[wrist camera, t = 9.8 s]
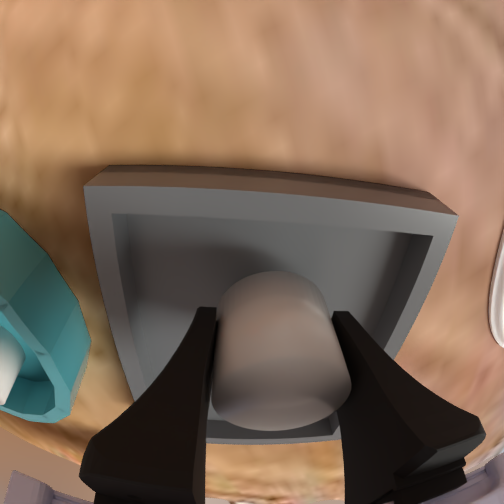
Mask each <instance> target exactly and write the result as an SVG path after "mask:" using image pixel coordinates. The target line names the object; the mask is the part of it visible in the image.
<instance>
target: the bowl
mask: <svg viewBox="0 0 504 504" xmlns="http://www.w3.org/2000/svg"><path fill="white" fill-rule="evenodd" d="M0 325H1V326H2V327H3V328H5V329H6V330H7V331H8V332H10V333H11V334H12V335H13V336H14V337H15V338H16V340H17V341H18V342H19V343H20V345H21V346H22V348H23V350H24V352H25V356H26V359H25V361H24V363H23V365H22V367H21V369H20V372H19V374H18V376H17V378H16V380H15V382H14V384H13V386H12V388H11V391H10V393H9V395H8V397H7V400H6V402H5V404H4V405H0V410H2V411H4V412H7V413H9V414H12V415H14V416H17V417H20V418H22V419H25V420H28V421H33V422H44V423H56V422H57V421H59V420H61V419H63V418H65V417H67V416H69V415H70V413H71V410H72V407H73V404H74V401H75V398H76V395H77V393H78V390H79V387H80V384H81V381H82V379H83V376H84V373H85V371H86V368H87V362H88V356H89V350H90V345H91V339H90V336H89V333H88V330H87V327H86V324H85V321H84V318H83V315H82V312H81V309H80V305H79V302H78V300H77V298H76V297H75V296H74V294H73V293H72V291H71V290H70V288H69V287H68V285H67V284H66V282H65V281H64V279H63V278H62V276H61V275H60V273H59V272H58V270H57V268H56V267H55V265H54V264H53V262H52V260H51V259H50V257H49V256H48V254H47V253H46V252H45V251H44V250H43V249H42V248H41V247H40V246H39V245H38V244H37V243H36V242H35V241H34V240H33V239H32V238H31V237H30V236H29V235H28V234H27V233H26V232H25V231H24V230H23V229H22V228H21V227H20V226H19V225H18V224H17V223H16V222H15V221H14V220H13V219H12V218H11V217H10V216H9V215H8V213H6V212H4V211H2V210H1V209H0Z"/></svg>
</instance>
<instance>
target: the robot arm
mask: <svg viewBox="0 0 504 504" xmlns="http://www.w3.org/2000/svg"><path fill="white" fill-rule="evenodd" d="M216 314H217V307H202V306H200V307H199V308H197V311H196V314H195V316H194V318H193V321H192V323H191V325H190V327H189V329H188V331H187V333H186V334H185V336H184V338H183V340H182V341H181V343H180V345H179V347H178V348H177V350H176V351H175V353H174V354H173V356H172V357H171V359H170V360H169V362H168V363H167V365H166V366H165V367H164V369H163V370H162V371H161V373H160V374H159V375H158V377H157V378H156V379H155V380H154V381H153V383H152V384H151V385H150V386H149V387H148V388H147V389H146V391H145V392H144V393H143V394H142V395H141V396H140V397H139V398H138V399H137V400H136V401H135V402H134V403H133V404H132V405H131V406H130V407H129V408H128V409H127V410H125V411H124V412H123V413H122V414H121V415H120V416H119V417H118V418H117V419H115V420H114V421H113V422H112V423H110V424H109V425H108V426H106V427H105V428H104V429H103V430H101V431H100V432H99V433H97V434H96V435H94V436H93V437H92V438H91V440H90V442H89V444H88V446H87V448H86V451H85V453H84V455H83V459H82V463H81V468H80V473H79V477H80V479H81V480H82V481H83V482H84V483H85V484H86V485H88V487H90V488H91V489H92V490H93V491H95V492H96V493H95V499H94V503H93V502H89V501H86V500H82V499H79V498H76V497H73V496H69V495H67V494H63V493H61V492H58V491H55V490H53V489H52V488H51V487H50V486H48V485H47V484H45V483H43V482H41V481H39V480H37V479H34V478H32V477H29V476H27V475H25V474H22V473H20V472H18V471H16V470H13V471H12V474H11V478H10V481H9V485H8V489H7V493H6V497H5V501H4V504H205V462H206V430H207V418H208V411H209V404H210V397H211V390H212V374H213V357H214V345H215V334H216ZM331 320H332V323H333V326H334V329H335V332H336V335H337V338H338V341H339V344H340V347H341V350H342V353H343V357H344V360H345V363H346V366H347V369H348V373H349V376H350V379H351V392H350V394H349V396H348V398H347V399H346V401H345V402H344V403H343V404H342V406H341V407H339V408H338V409H337V410H336V412H337V416H338V420H339V426H340V433H341V440H342V449H343V460H344V477H345V504H504V452H503V453H501V454H500V455H498V456H496V457H495V458H493V459H492V460H490V461H489V462H488V463H487V464H486V465H485V466H483V467H481V468H479V469H477V470H475V471H472V472H470V473H468V474H466V475H465V474H464V471H463V468H462V467H464V466H465V465H466V462H465V459H464V457H465V456H466V455H468V454H469V453H470V452H471V451H473V450H474V449H475V448H476V447H477V446H478V445H480V444H481V443H482V441H483V440H484V439H485V436H486V433H485V431H484V428H483V426H482V424H481V422H480V420H479V418H478V417H477V416H475V415H473V414H471V413H469V412H467V411H464V410H462V409H460V408H458V407H456V406H454V405H453V404H451V403H449V402H447V401H446V400H444V399H442V398H441V397H439V396H438V395H436V394H435V393H433V392H432V391H430V390H429V389H427V388H426V387H424V386H423V385H422V384H420V383H419V382H418V381H417V380H415V379H414V378H413V377H412V376H411V375H409V374H408V373H407V372H406V371H405V370H403V369H402V368H401V367H400V366H399V365H398V364H397V363H396V362H395V361H394V360H393V359H392V358H391V357H390V356H389V355H388V354H387V353H386V352H385V351H384V350H383V349H382V348H381V347H380V346H379V345H378V344H377V343H376V341H375V340H374V339H373V338H372V337H371V336H370V335H369V334H368V333H367V331H366V330H365V329H364V328H363V327H362V326H361V325H360V323H359V322H358V321H357V320H356V319H355V318H354V317H353V316H352V314H351V313H350V312H349V311H334V312H333V315H332V318H331Z"/></svg>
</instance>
